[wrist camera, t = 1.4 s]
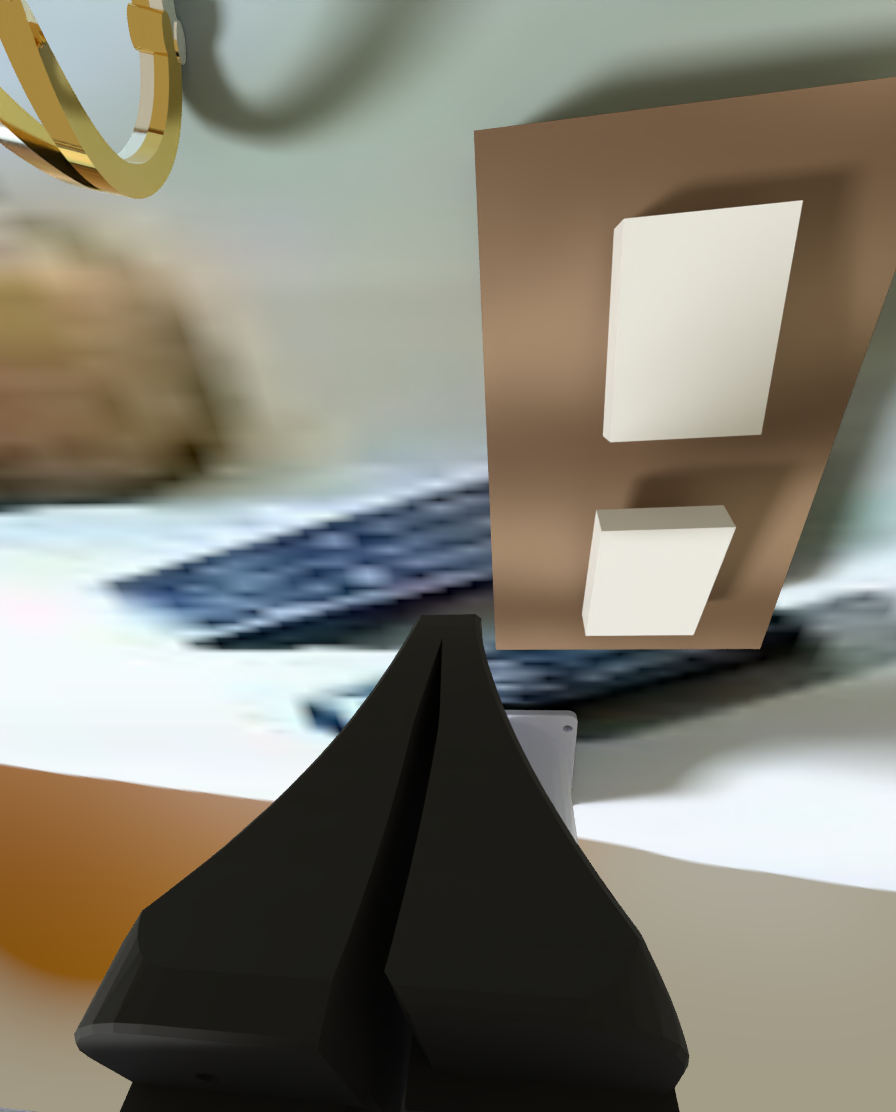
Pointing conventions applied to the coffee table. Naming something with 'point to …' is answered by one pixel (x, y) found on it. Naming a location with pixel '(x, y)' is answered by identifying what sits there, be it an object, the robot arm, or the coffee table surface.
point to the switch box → (583, 323)
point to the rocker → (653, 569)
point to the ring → (68, 131)
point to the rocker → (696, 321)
